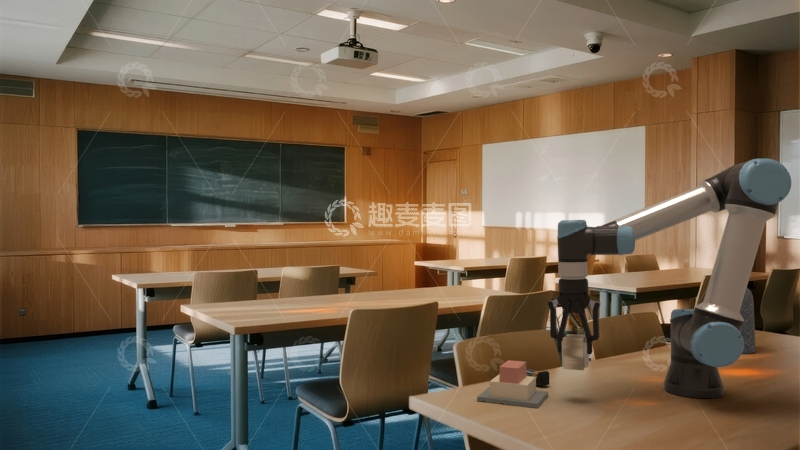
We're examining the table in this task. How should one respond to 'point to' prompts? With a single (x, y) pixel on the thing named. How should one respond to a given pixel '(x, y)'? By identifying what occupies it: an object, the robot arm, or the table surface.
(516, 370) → the tiered block stack
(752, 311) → the vase
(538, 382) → the brush
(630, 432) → the table surface
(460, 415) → the table surface
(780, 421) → the table surface
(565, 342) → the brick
